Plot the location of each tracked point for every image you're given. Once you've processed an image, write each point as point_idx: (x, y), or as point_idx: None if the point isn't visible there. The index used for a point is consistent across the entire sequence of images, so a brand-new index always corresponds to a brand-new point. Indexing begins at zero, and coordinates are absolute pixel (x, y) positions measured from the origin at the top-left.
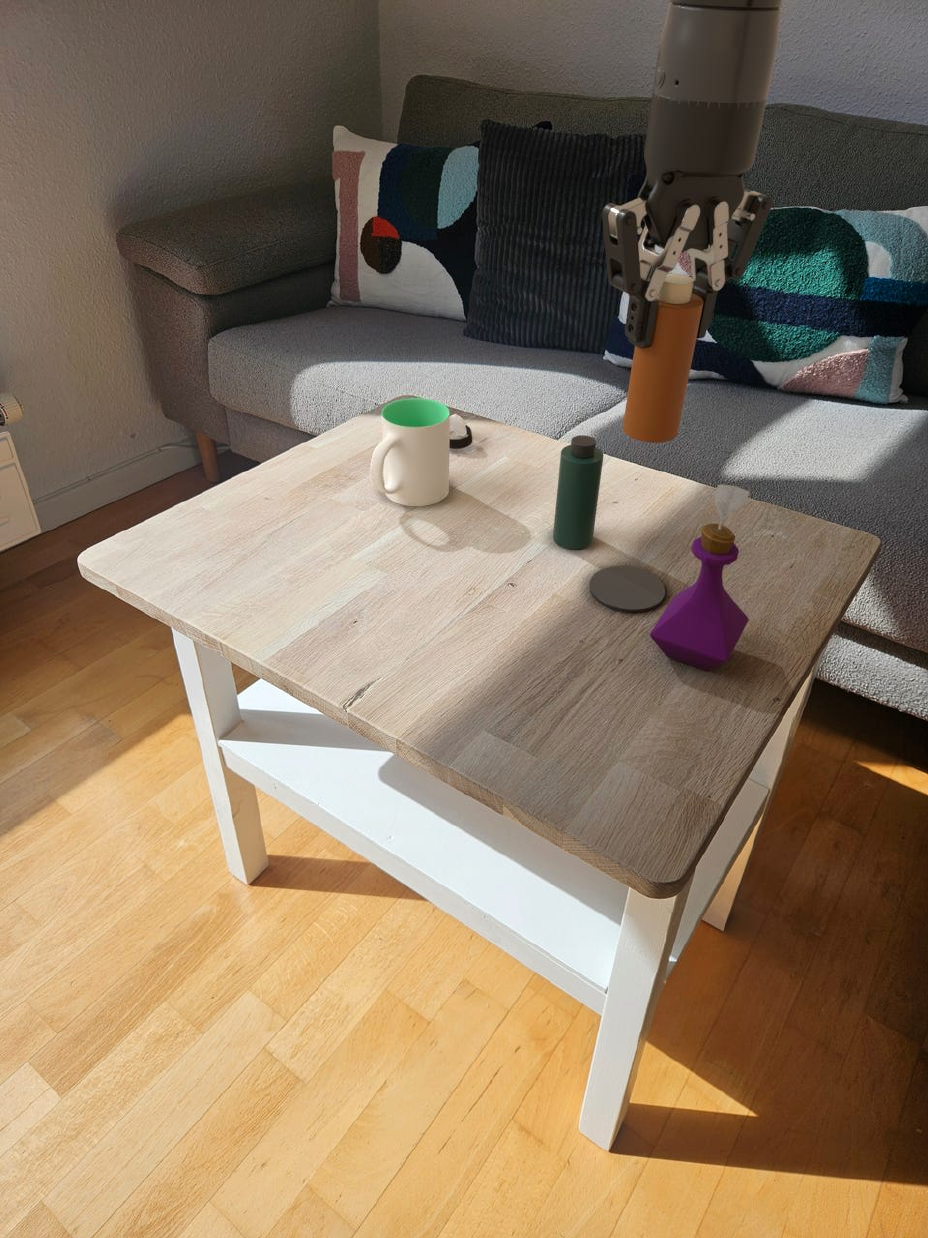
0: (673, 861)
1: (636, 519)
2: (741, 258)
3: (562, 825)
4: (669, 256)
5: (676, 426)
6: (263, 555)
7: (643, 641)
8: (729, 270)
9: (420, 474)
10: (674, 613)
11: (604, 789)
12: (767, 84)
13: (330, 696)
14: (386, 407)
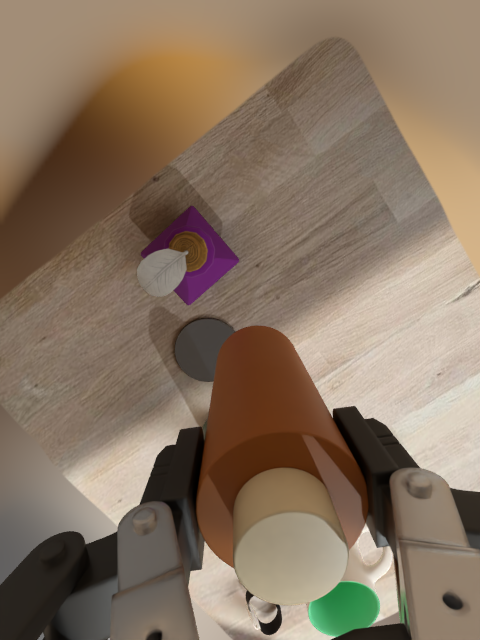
0: (328, 43)
1: (149, 442)
2: (27, 599)
3: (387, 107)
4: (470, 583)
5: (236, 336)
6: (475, 475)
7: (227, 282)
8: (85, 566)
9: None
10: (218, 260)
11: (340, 131)
12: None
13: None
14: (367, 625)
